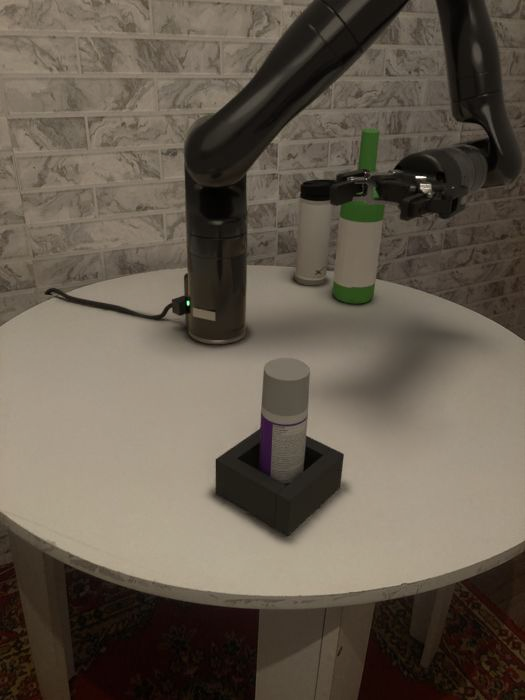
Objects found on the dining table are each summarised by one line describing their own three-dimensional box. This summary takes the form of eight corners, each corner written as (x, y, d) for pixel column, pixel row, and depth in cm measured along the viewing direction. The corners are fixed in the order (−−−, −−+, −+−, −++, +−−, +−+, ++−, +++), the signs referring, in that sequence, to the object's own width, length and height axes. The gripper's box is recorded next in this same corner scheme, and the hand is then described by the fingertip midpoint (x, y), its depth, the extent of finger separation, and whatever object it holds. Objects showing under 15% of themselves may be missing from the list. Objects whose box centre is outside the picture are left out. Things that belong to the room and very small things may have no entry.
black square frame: (215, 492, 63) (215, 459, 61) (271, 451, 70) (272, 419, 68) (287, 536, 58) (290, 501, 56) (340, 486, 65) (344, 453, 63)
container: (256, 476, 66) (260, 357, 59) (298, 474, 66) (307, 356, 59) (260, 505, 62) (264, 381, 55) (304, 503, 62) (315, 380, 55)
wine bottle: (376, 306, 109) (398, 134, 95) (333, 304, 109) (350, 132, 95) (369, 290, 116) (390, 127, 102) (330, 289, 116) (344, 126, 102)
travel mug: (325, 287, 117) (334, 184, 107) (292, 284, 118) (298, 181, 109) (329, 276, 122) (337, 177, 113) (297, 273, 123) (303, 175, 114)
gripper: (386, 141, 76) (314, 157, 65) (496, 157, 68) (436, 177, 57) (379, 200, 79) (309, 224, 68) (483, 221, 72) (424, 252, 60)
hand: (367, 203), depth 63 cm, fingers open, 8 cm apart
